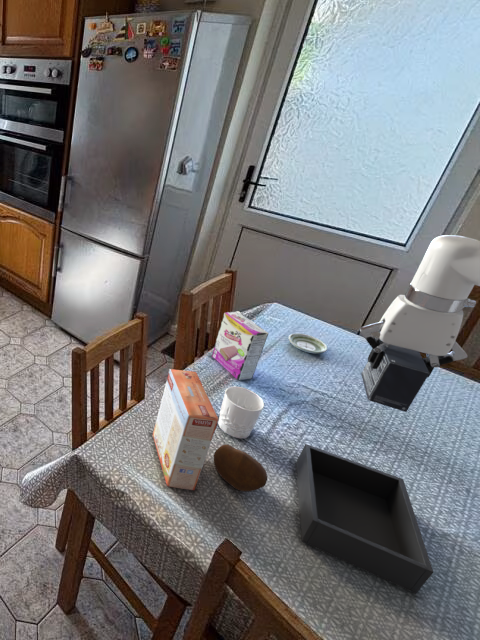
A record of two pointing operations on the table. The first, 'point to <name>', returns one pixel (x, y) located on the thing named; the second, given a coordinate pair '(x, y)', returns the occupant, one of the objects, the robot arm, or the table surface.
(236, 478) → the potato
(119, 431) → the table surface
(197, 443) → the cracker box
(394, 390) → the small box
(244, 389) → the white cup
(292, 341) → the saucer
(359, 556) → the basket
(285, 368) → the table surface
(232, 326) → the candy bar box
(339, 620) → the table surface
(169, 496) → the table surface
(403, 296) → the robot arm
